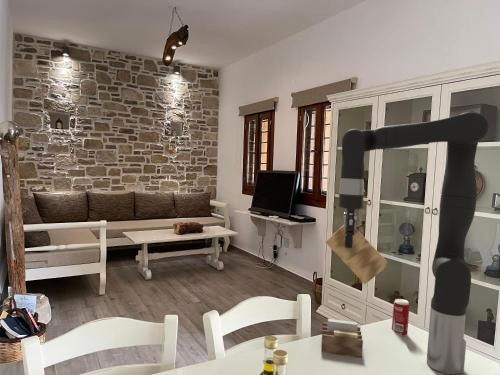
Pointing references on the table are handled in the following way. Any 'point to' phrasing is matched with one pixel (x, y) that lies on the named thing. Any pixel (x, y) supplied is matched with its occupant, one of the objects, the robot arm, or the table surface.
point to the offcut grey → (341, 325)
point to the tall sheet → (357, 254)
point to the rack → (341, 343)
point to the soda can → (400, 316)
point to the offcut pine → (345, 334)
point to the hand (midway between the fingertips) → (348, 246)
